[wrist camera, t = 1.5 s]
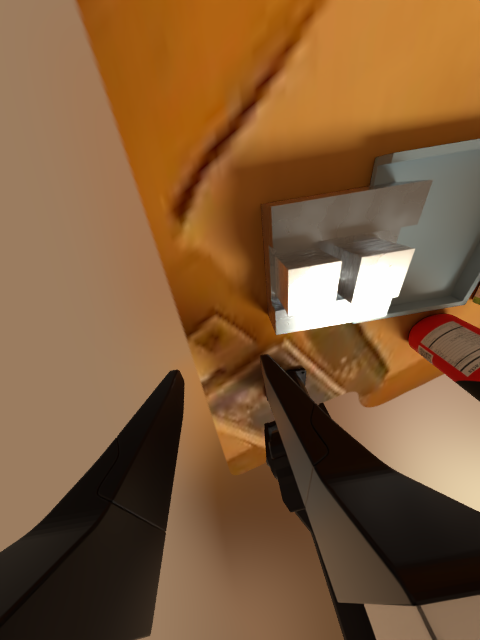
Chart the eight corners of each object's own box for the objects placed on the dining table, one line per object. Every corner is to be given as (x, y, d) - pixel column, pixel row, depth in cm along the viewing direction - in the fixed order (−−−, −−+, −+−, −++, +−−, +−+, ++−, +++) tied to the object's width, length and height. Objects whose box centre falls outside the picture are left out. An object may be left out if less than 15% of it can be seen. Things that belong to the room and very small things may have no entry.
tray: (448, 297, 25) (464, 304, 23) (344, 315, 25) (353, 323, 23) (537, 130, 16) (574, 122, 14) (375, 157, 16) (393, 153, 14)
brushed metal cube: (367, 279, 20) (397, 296, 16) (328, 285, 20) (351, 304, 16) (377, 238, 17) (415, 248, 14) (334, 245, 17) (361, 257, 14)
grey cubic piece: (314, 288, 20) (334, 307, 16) (276, 294, 20) (288, 315, 16) (318, 248, 17) (342, 260, 14) (274, 255, 17) (288, 270, 14)
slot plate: (362, 299, 24) (385, 316, 21) (268, 315, 24) (276, 334, 20) (391, 182, 17) (433, 179, 14) (260, 204, 17) (271, 206, 14)
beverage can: (404, 351, 30) (497, 428, 20) (401, 324, 27) (509, 400, 17) (448, 332, 29) (570, 405, 19) (450, 302, 26) (599, 370, 16)
